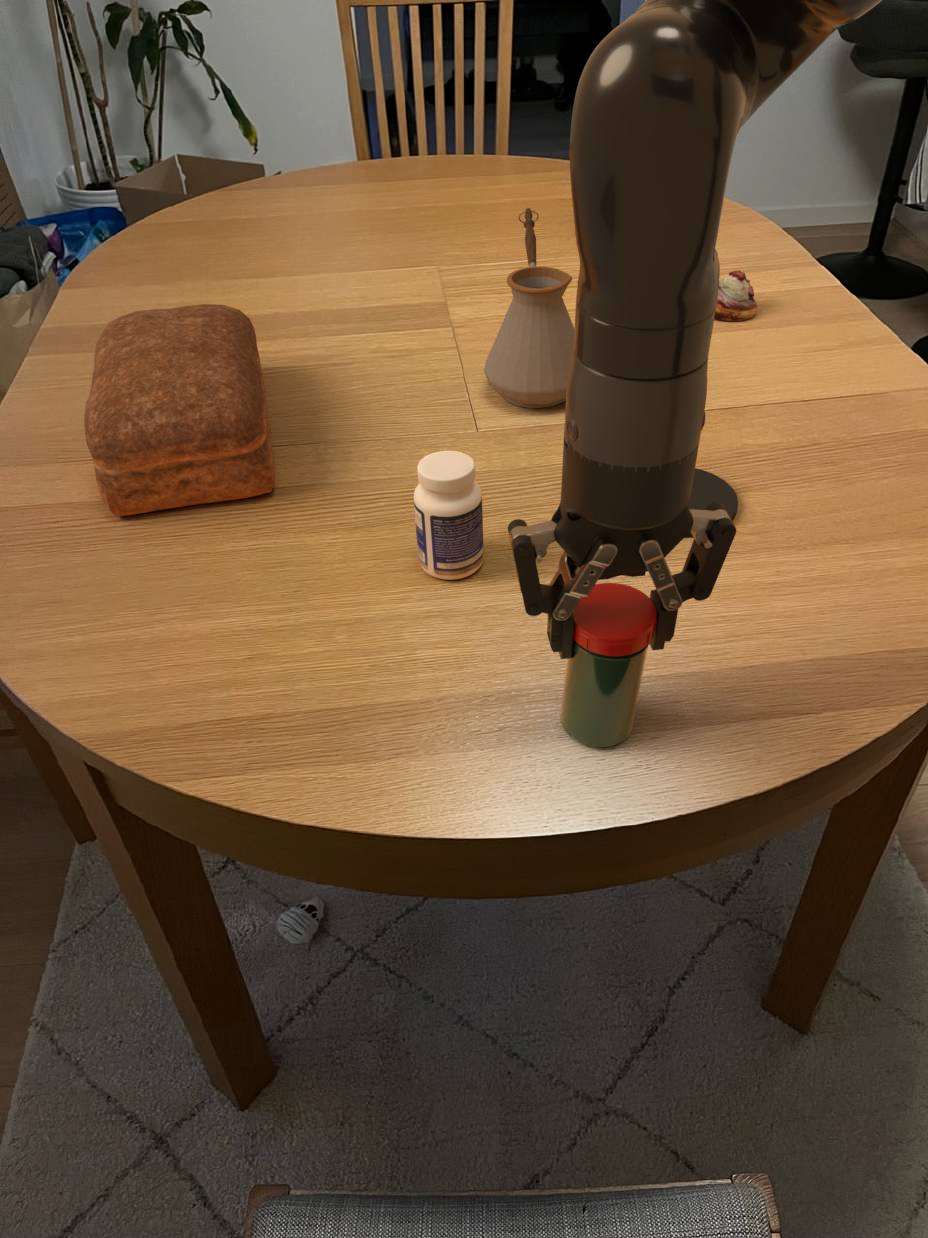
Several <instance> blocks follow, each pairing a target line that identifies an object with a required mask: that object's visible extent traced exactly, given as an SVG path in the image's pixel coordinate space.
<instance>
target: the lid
mask: <svg viewBox="0 0 928 1238" xmlns="http://www.w3.org/2000/svg"><path fill="white" fill-rule="evenodd" d="M573 616H574V620H575V621H574V634H573V639H574V640H575V641H576V642H577V643H578V644H579V645H580V646H582V647H583V648H585V649H586V650H589V651H591V652H593V653H596V654H600V655H605V656H625V655H629V654H633V653H636V652H638V651H640V650H642V649H643V648H645V647H646V646H647V645H648V646H650V641H651V640H652V638H653V635H654V631H656V625H657V620H656V616H657V612H656V609H655V606H654V604H653V602H652V600H651V599H650V596H648V595H647V594H645V593H644V592H643V591H641V590H639V589H638V588H636V587H634V586H630V585H628V584H623V583H617V582H602V583H601V582H600V583H596V584H595V586H594V587H593V589H592V590H591V592H590V594H589V595H588V596H587V597H586V598H584V597H583V598H582V599H581V600H580V602H579V603H578V605H577V607H576V608H575V610H574V612H573Z"/></svg>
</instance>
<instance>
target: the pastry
mask: <svg viewBox="0 0 928 1238" xmlns="http://www.w3.org/2000/svg"><path fill="white" fill-rule="evenodd" d="M754 297H755V292H754V288H753V286H752V285H751V280H749V279H748V278H747V276H746V273H745V272H744V271H742V270H739V269H738V270H732V271H729V272H728V275H727V276H724V277H722V278H719V290H718V299H717V305H716V311H715V317H714V320H715V319H716V320H718V321H723V322H724V321H725V322H726V321H727V322H730V321H731V322H732V321H733V322H736V321H737V322H738V321H739V322H740V321H745V320H749V319H752V318H753V317H754V316H755V315H756V314H757V311H758V304H757V302H756V300H755V298H754Z"/></svg>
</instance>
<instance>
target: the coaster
mask: <svg viewBox="0 0 928 1238" xmlns="http://www.w3.org/2000/svg"><path fill="white" fill-rule="evenodd" d="M714 502H719V503H721V504H723V506H724V508H725V510H726V511H727V513H728V515H729V517H730V519H731V520H732V521H733V520H734V519H735V517H736V515H737V512H738V508H739V498H738V495H737V493H736V491H735V490H734V488H733V487H732V486H731V485H730V484H729V483H728V482H727V481H726V480H724V479H723V478H721V477H720V476H718V475H716V474H714V473H712V472H709V471H707V470H704V469H701V468H697V467H695V472H694V478H693V484H692V490H691V496H690V501H689V503H688V507H689V509H695V510H705V509H706V507H707V506H708V505H710V504H711V503H714ZM684 538H694V537H693V535H692V533H691V530H690V532H689V533H688V534H687V535H686V536H685V537H684Z"/></svg>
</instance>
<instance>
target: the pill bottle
mask: <svg viewBox="0 0 928 1238" xmlns="http://www.w3.org/2000/svg"><path fill="white" fill-rule="evenodd" d="M416 470H417V482H418V484H417V485H416V486H415V489H414V491H413V511H414V520H415V532H416V542H417V543H416V544H417V554H418V555H417V556H418V563H419V565H420V567H421V570H423V571H424V572H425V573H426V574H428V575H429V576H431V577H433V578H436V579H440V580H447V581H448V580H449V581H453V580H460V579H464V578H467V577H469V576H471V575H473V574H474V573H476V572H477V571H478V570H479V569H480V568H481V566H482V564H483V562H484V555H485V554H484V553H485V552H484V551H485V550H484V521H483V518H484V517H483V515H484V514H483V494H482V490H481V487H480V485H479V483H478V482H477V481H476V480H475V479H476V464H475V461H474V459H473V457H471V456H470V455H469V454H467V453H464V452H461V451H457V450H440V451H434V452H432V453H430V454H429V453H428V454H427V455H425V456H423V457H422V458H421V459H420V460H419V462H418V463H417V469H416Z"/></svg>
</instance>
